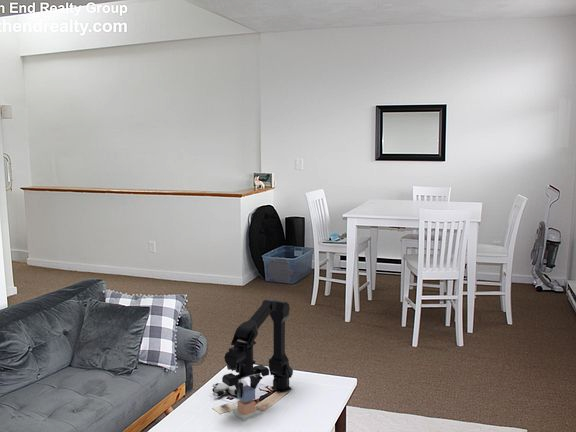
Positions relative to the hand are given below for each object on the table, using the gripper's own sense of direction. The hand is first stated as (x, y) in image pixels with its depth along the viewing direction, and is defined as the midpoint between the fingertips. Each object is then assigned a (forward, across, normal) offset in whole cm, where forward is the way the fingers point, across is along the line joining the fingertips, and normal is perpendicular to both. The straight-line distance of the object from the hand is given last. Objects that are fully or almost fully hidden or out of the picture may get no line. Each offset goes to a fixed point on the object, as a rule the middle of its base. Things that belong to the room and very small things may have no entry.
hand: (246, 395), depth 226 cm
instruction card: (+8, +4, -9) cm, 12 cm away
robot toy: (+8, -5, -20) cm, 22 cm away
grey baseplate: (+8, 0, 0) cm, 8 cm away
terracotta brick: (+6, 0, 0) cm, 6 cm away
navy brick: (+1, 0, 0) cm, 1 cm away
